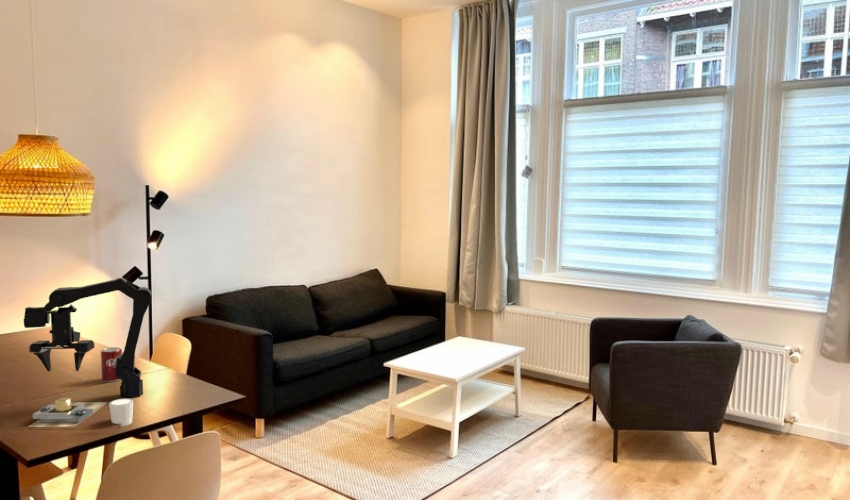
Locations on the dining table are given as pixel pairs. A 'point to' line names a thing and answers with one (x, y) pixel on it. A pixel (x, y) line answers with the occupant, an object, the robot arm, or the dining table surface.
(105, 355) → the soda can
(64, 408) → the pin
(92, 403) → the board
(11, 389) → the dining table surface
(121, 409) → the white short tapered cylinder
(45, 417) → the square frame with knobs
